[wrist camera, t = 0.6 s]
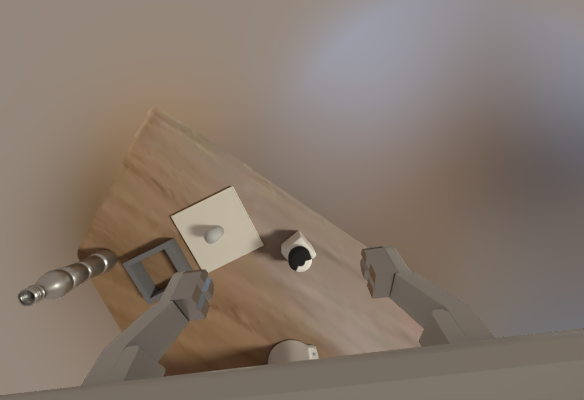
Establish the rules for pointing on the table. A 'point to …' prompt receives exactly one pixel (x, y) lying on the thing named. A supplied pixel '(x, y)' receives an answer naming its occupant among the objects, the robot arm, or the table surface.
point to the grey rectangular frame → (141, 275)
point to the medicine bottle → (298, 252)
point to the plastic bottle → (67, 278)
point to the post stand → (218, 230)
